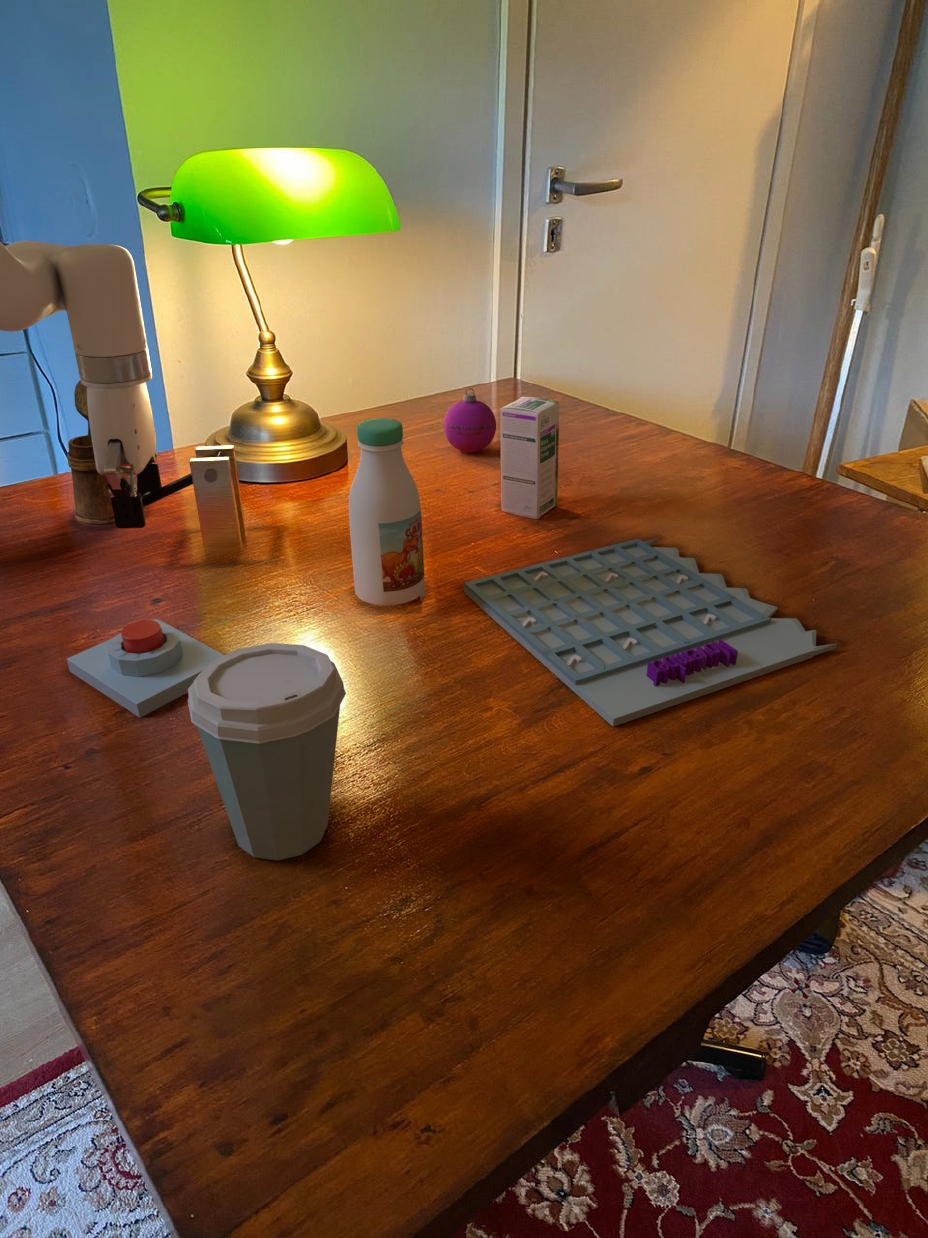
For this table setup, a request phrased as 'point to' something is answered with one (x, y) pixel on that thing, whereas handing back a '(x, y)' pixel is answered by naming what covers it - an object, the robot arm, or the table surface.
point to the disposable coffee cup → (271, 742)
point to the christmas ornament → (470, 424)
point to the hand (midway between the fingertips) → (140, 510)
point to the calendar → (640, 627)
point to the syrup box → (529, 456)
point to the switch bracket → (218, 499)
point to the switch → (169, 487)
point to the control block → (144, 670)
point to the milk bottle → (385, 519)
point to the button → (142, 636)
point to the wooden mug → (88, 474)
